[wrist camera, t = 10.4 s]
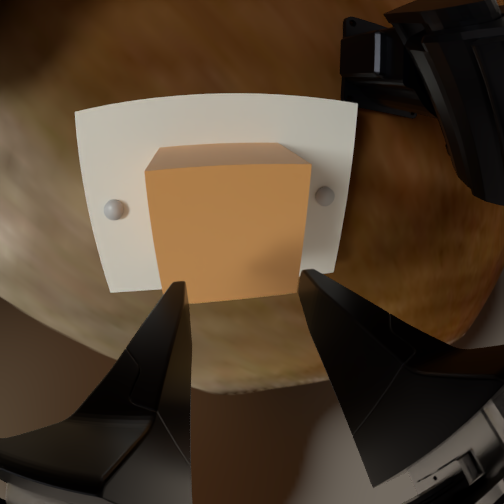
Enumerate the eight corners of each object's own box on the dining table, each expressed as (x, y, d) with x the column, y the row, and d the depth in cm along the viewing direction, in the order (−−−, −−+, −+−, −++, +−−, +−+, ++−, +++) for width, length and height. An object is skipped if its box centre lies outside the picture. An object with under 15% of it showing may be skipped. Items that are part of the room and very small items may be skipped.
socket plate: (342, 101, 16) (360, 104, 14) (323, 258, 22) (335, 274, 20) (87, 109, 13) (72, 112, 11) (115, 275, 20) (109, 295, 18)
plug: (268, 137, 17) (311, 164, 11) (264, 229, 20) (296, 292, 14) (163, 141, 16) (144, 171, 10) (171, 236, 19) (165, 305, 13)
